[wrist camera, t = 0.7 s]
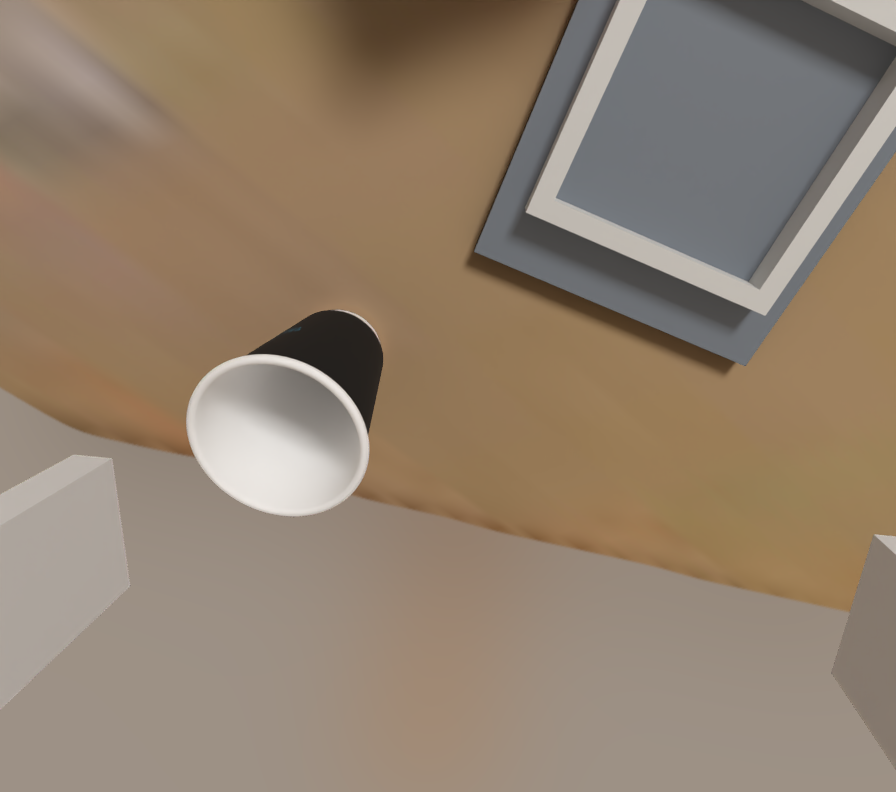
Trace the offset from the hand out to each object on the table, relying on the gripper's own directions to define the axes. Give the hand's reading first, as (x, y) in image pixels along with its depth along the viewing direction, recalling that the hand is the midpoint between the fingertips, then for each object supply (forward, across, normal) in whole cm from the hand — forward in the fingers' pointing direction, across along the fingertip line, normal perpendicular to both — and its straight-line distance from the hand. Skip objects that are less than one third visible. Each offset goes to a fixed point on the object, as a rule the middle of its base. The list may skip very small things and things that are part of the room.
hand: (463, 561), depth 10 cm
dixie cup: (+24, -10, -2) cm, 26 cm away
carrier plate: (+23, +9, +10) cm, 26 cm away
